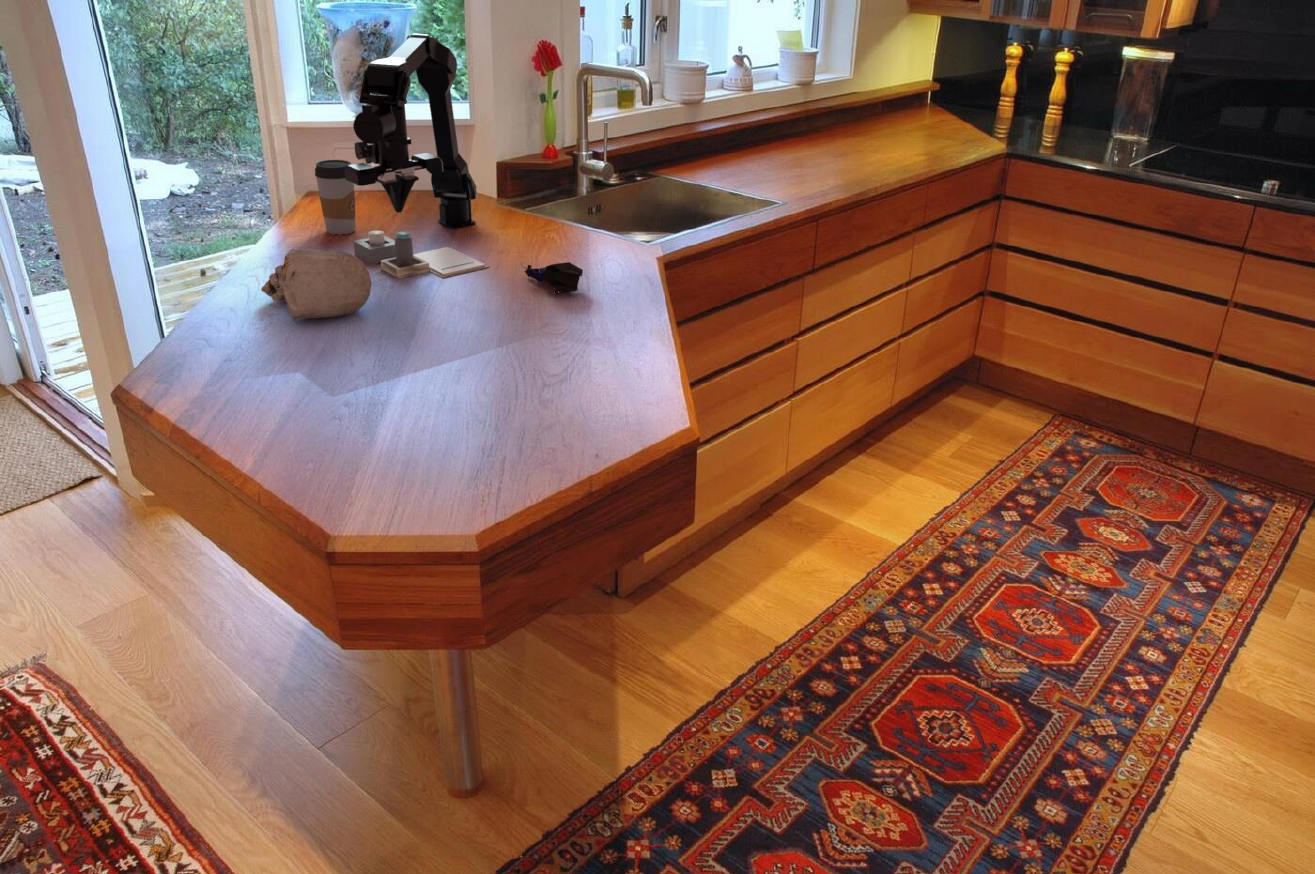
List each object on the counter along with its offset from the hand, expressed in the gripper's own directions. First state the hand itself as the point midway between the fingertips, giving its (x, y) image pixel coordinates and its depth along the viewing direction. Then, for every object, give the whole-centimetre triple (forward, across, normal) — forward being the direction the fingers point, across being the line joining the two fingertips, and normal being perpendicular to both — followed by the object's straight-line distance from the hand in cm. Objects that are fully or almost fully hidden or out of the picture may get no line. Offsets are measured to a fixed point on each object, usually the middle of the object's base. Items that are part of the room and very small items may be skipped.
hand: (398, 212), depth 200 cm
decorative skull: (+12, +24, +10) cm, 28 cm away
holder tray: (+12, 0, +1) cm, 12 cm away
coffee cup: (+12, -2, -30) cm, 32 cm away
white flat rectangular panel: (+12, -9, +2) cm, 15 cm away
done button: (+10, 0, -10) cm, 14 cm away
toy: (+12, -18, +26) cm, 34 cm away
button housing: (+12, 0, -10) cm, 15 cm away
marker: (+11, 0, +1) cm, 11 cm away
